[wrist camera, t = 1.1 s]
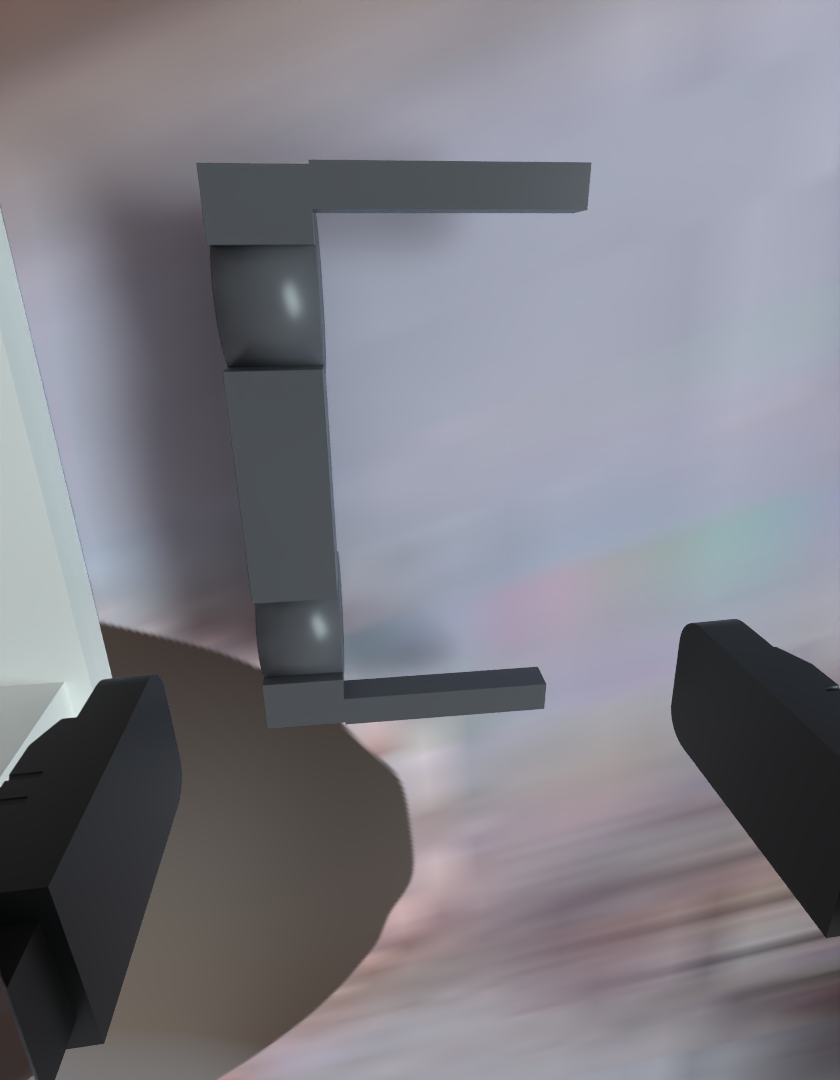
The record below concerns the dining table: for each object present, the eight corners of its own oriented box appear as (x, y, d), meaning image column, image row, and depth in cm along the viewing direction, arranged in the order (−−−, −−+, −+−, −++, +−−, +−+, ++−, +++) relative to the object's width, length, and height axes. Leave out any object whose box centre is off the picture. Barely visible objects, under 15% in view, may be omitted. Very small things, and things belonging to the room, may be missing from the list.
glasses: (227, 182, 22) (195, 158, 17) (541, 184, 23) (591, 162, 18) (280, 658, 29) (268, 730, 25) (513, 642, 30) (543, 708, 26)
